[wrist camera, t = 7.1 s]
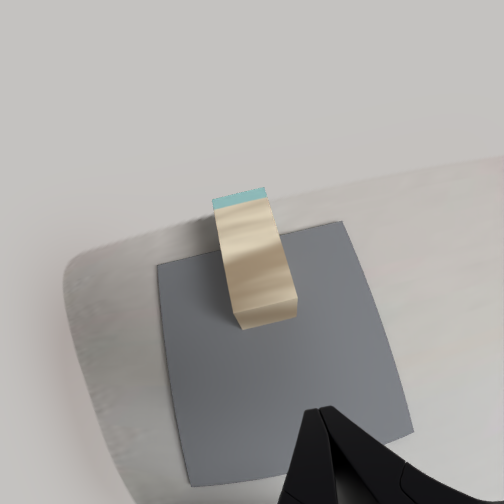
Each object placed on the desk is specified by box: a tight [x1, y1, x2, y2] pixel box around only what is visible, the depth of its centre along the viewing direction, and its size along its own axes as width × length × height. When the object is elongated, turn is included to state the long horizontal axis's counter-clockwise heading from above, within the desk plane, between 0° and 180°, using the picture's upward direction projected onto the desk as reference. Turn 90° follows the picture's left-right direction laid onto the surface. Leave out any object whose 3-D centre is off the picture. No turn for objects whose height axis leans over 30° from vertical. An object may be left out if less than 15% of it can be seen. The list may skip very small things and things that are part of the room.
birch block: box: [212, 187, 298, 330], centre depth 23 cm, size 4×4×9 cm
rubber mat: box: [157, 221, 414, 487], centre depth 21 cm, size 18×16×1 cm
